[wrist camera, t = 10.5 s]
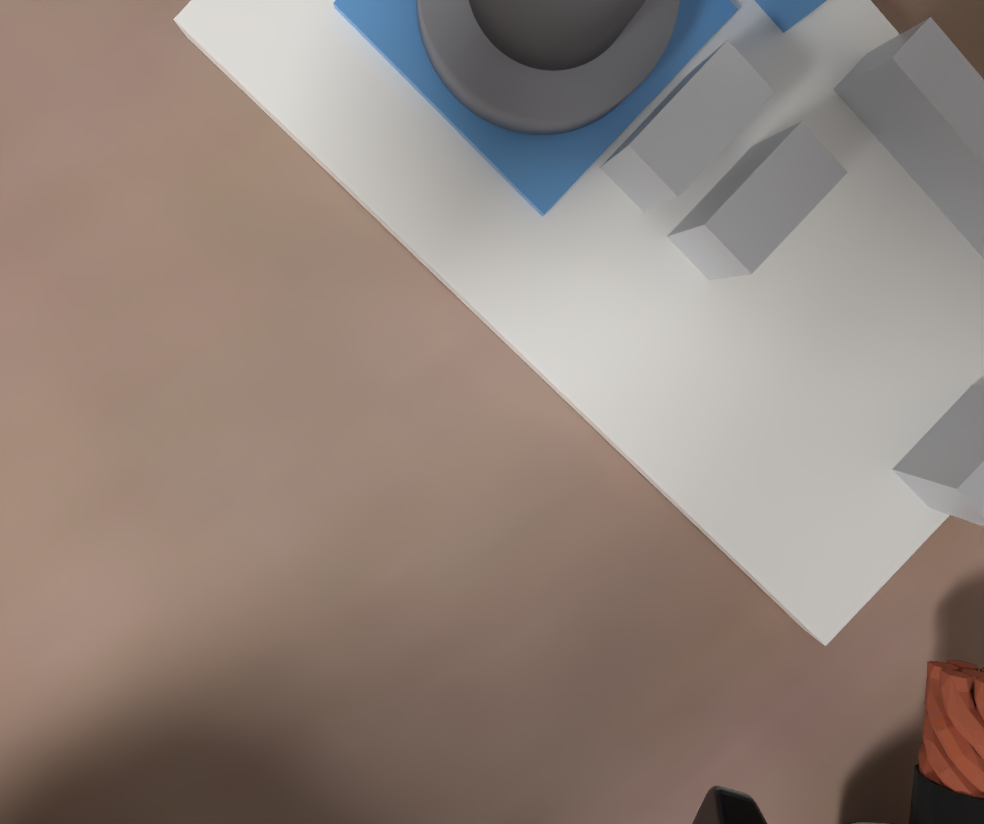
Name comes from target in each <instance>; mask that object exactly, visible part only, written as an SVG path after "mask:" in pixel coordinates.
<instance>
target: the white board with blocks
mask: <svg viewBox="0 0 984 824" xmlns="http://www.w3.org/2000/svg"><path fill="white" fill-rule="evenodd" d="M416 2H417V0H191V1H190V2H189V3H188V4H187V6H186V7H185V8H184V9H183V10H182V11H181V12H180V13H179V14H178V15H177V16H176V17H175V18H174V21H175V22H176V23H177V25H178V26H179V27H180V28H181V30H182V31H183V32H184V34H185V35H186V36H187V38H188V39H189V40H190V41H191V42H192V43H194V44H195V45H196V46H197V47H198V48H199V49H200V50H201V51H202V52H203V53H204V54H205V55H206V56H207V57H208V58H209V59H210V60H211V61H212V62H213V63H214V64H215V65H216V66H217V67H219V68H220V69H221V70H222V71H223V72H224V73H225V74H226V75H227V76H228V77H229V78H230V79H231V80H232V81H233V82H234V83H235V84H236V85H237V86H238V87H239V88H240V89H241V90H242V91H244V92H245V93H246V94H247V95H248V96H249V97H250V98H251V99H252V100H253V101H254V102H255V103H256V104H257V105H258V106H259V107H260V108H261V109H262V110H263V111H264V112H265V113H266V114H267V115H269V116H270V117H271V118H272V119H273V120H274V121H275V122H276V123H277V124H278V125H279V126H280V127H281V128H282V129H283V130H284V131H285V132H286V133H287V134H288V135H289V136H290V137H291V138H292V139H294V140H295V141H296V142H297V143H298V144H299V145H300V146H301V147H302V148H303V149H304V150H305V151H306V152H307V153H308V154H309V155H310V156H311V157H312V158H313V159H314V160H315V161H316V162H317V163H318V164H320V165H321V166H322V167H323V168H324V169H325V170H326V171H327V172H328V173H329V174H330V175H331V176H332V177H333V178H334V179H335V180H336V181H337V182H338V183H339V184H340V185H341V186H342V187H343V188H345V189H346V190H347V191H348V192H349V193H350V194H351V195H352V196H353V197H354V198H355V199H356V200H357V201H358V202H359V203H360V204H361V205H362V206H363V207H364V208H365V209H366V210H367V211H368V212H370V213H371V214H372V215H373V216H374V217H375V218H376V219H377V220H378V221H379V222H380V223H381V224H382V225H383V226H384V227H385V228H386V229H387V230H388V231H389V232H390V233H391V234H392V235H393V236H395V237H396V238H397V239H398V240H399V241H400V242H401V243H402V244H403V245H404V246H405V247H406V248H407V249H408V250H409V251H410V252H411V253H412V254H413V255H414V256H415V257H416V258H417V259H418V260H419V261H421V262H422V263H423V264H424V265H425V266H426V267H427V268H428V269H429V270H430V271H431V272H432V273H433V274H434V275H435V276H436V277H437V278H438V279H439V280H440V281H441V282H442V283H443V284H444V285H446V286H447V287H448V288H449V289H450V290H451V291H452V292H453V293H454V294H455V295H456V296H457V297H458V298H459V299H460V300H461V301H462V302H463V303H464V304H465V305H466V306H467V307H468V308H469V309H471V310H472V311H473V312H474V313H475V314H476V315H477V316H478V317H479V318H480V319H481V320H482V321H483V322H484V323H485V324H486V325H487V326H488V327H489V328H490V329H491V330H492V331H493V332H494V333H496V334H497V335H498V336H499V337H500V338H501V339H502V340H503V341H504V342H505V343H506V344H507V345H508V346H509V347H510V348H511V349H512V350H513V351H514V352H515V353H516V354H517V355H518V356H519V357H521V358H522V359H523V360H524V361H525V362H526V363H527V364H528V365H529V366H530V367H531V368H532V369H533V370H534V371H535V372H536V373H537V374H538V375H539V376H540V377H541V378H542V379H543V380H544V381H545V382H547V383H548V384H549V385H550V386H551V387H552V388H553V389H554V390H555V391H556V392H557V393H558V394H559V395H560V396H561V397H562V398H563V399H564V400H565V401H566V402H567V403H568V404H569V405H570V406H572V407H573V408H574V409H575V410H576V411H577V412H578V413H579V414H580V415H581V416H582V417H583V418H584V419H585V420H586V421H587V422H588V423H589V424H590V425H591V426H592V427H593V428H594V429H595V430H597V431H598V432H599V433H600V434H601V435H602V436H603V437H604V438H605V439H606V440H607V441H608V442H609V443H610V444H611V445H612V446H613V447H614V448H615V449H616V450H617V451H618V452H619V453H620V454H622V455H623V456H624V457H625V458H626V459H627V460H628V461H629V462H630V463H631V464H632V465H633V466H634V467H635V468H636V469H637V470H638V471H639V472H640V473H641V474H642V475H643V476H644V477H645V478H646V479H648V480H649V481H650V482H651V483H652V484H653V485H654V486H655V487H656V488H657V489H658V490H659V491H660V492H661V493H662V494H663V495H664V496H665V497H666V498H667V499H668V500H669V501H670V502H671V503H673V504H674V505H675V506H676V507H677V508H678V509H679V510H680V511H681V512H682V513H683V514H684V515H685V516H686V517H687V518H688V519H689V520H690V521H691V522H692V523H693V524H694V525H695V526H696V527H698V528H699V529H700V530H701V531H702V532H703V533H704V534H705V535H706V536H707V537H708V538H709V539H710V540H711V541H712V542H713V543H714V544H715V545H716V546H717V547H718V548H719V549H720V550H721V551H723V552H724V553H725V554H726V555H727V556H728V557H729V558H730V559H731V560H732V561H733V562H734V563H735V564H736V565H737V566H738V567H739V568H740V569H741V570H742V571H743V572H744V573H745V574H746V575H748V576H749V577H750V578H751V579H752V580H753V581H754V582H755V583H756V584H757V585H758V586H759V587H760V588H761V589H762V590H763V591H764V592H765V593H766V594H767V595H768V596H769V597H770V598H771V599H772V600H774V601H775V602H776V603H777V604H778V605H779V606H780V607H781V608H782V609H783V610H784V611H785V612H786V613H787V614H788V615H789V616H790V617H791V618H792V619H793V620H794V621H795V622H796V623H797V624H799V625H800V626H801V627H802V628H803V629H804V630H805V631H806V632H808V633H809V634H810V635H812V636H813V637H814V638H815V639H817V640H818V641H819V642H821V643H822V644H823V645H825V646H826V645H827V644H828V643H829V642H830V641H831V640H832V639H833V638H834V637H835V636H836V635H837V634H838V633H839V631H840V630H841V629H842V628H843V627H844V626H845V625H846V624H847V623H848V622H849V621H850V620H851V619H852V618H853V617H854V616H855V615H856V614H857V612H858V611H859V610H860V609H861V608H862V607H863V606H864V605H865V604H866V603H867V602H868V601H869V600H870V599H871V598H872V597H873V596H874V595H875V594H876V592H877V591H878V590H879V589H880V588H881V587H882V586H883V585H884V584H885V583H886V582H887V581H888V580H889V579H890V578H891V577H892V576H893V575H894V573H895V572H896V571H897V570H898V569H899V568H900V567H901V566H902V565H903V564H904V563H905V562H906V561H907V560H908V559H909V558H910V557H911V556H912V554H913V553H914V552H915V551H916V550H917V549H918V548H919V547H920V546H921V545H922V544H923V543H924V542H925V541H926V540H927V539H928V538H929V537H930V535H931V534H932V533H933V532H934V531H935V530H936V529H937V528H938V527H939V526H940V525H941V524H942V523H943V522H944V521H945V520H946V519H947V518H948V517H949V515H952V516H955V517H957V518H960V519H963V520H966V521H969V522H972V523H974V524H977V525H980V526H983V527H984V79H983V78H982V77H981V76H980V74H979V73H978V72H977V71H976V70H975V68H974V67H973V66H972V65H971V64H970V63H969V61H968V60H967V59H966V58H965V57H964V55H963V54H962V53H961V52H960V51H959V50H958V48H957V47H956V46H955V45H954V44H953V42H952V41H951V40H950V39H949V38H948V37H947V35H946V34H945V33H944V32H943V31H942V29H941V28H940V27H939V26H938V25H937V24H936V22H935V21H934V20H933V19H932V18H931V17H929V18H927V19H926V20H924V21H922V22H920V23H919V24H917V25H915V26H913V27H912V28H910V29H908V30H906V31H905V32H903V33H901V34H899V33H898V32H897V30H896V29H895V28H894V27H893V26H892V25H891V23H890V22H889V21H888V20H887V19H886V18H885V16H884V15H883V14H882V13H881V12H880V11H879V9H878V8H877V7H876V6H875V5H874V4H873V2H872V1H871V0H680V3H679V8H678V14H677V19H676V23H675V26H674V29H673V32H672V35H671V38H670V40H669V42H668V44H667V46H666V48H665V51H664V53H663V54H662V56H661V57H660V59H659V61H658V62H657V64H656V65H655V67H654V68H653V69H652V71H651V72H650V73H649V74H648V75H647V77H646V78H645V79H644V80H643V81H642V82H641V83H640V84H639V85H638V86H637V87H636V88H635V89H634V90H633V91H632V92H631V93H630V94H629V95H628V96H627V97H626V98H625V99H624V100H623V101H622V102H621V103H620V104H619V105H618V106H617V107H616V108H615V109H613V110H612V111H611V112H609V113H608V114H606V115H605V116H604V117H602V118H601V119H599V120H597V121H595V122H593V123H591V124H589V125H587V126H585V127H582V128H579V129H577V130H574V131H570V132H565V133H560V134H553V135H531V134H523V133H518V132H513V131H509V130H506V129H503V128H501V127H498V126H495V125H493V124H491V123H489V122H487V121H485V120H483V119H481V118H480V117H478V116H477V115H475V114H474V113H473V112H471V111H470V110H468V109H467V108H466V107H465V106H464V105H462V104H461V103H460V102H459V101H458V100H457V99H456V98H455V97H454V96H453V95H452V94H451V93H450V91H449V90H448V89H447V88H446V87H445V86H444V84H443V83H442V81H441V80H440V78H439V77H438V75H437V74H436V72H435V70H434V68H433V66H432V64H431V62H430V60H429V58H428V56H427V54H426V51H425V48H424V45H423V42H422V39H421V35H420V30H419V26H418V18H417V7H416Z"/></svg>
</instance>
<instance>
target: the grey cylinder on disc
mask: <svg viewBox="0 0 984 824" xmlns="http://www.w3.org/2000/svg"><path fill="white" fill-rule="evenodd" d="M679 3H680V0H417V2H416V7H417V18H418V26H419V30H420V35H421V39H422V42H423V45H424V48H425V51H426V54H427V56H428V58H429V60H430V62H431V64H432V66H433V68H434V70H435V72H436V74H437V75H438V77H439V78H440V80H441V81H442V83H443V84H444V86H445V87H446V88H447V89H448V90H449V91H450V93H451V94H452V95H453V96H454V97H455V98H456V99H457V100H458V101H459V102H460V103H461V104H462V105H464V106H465V107H466V108H467V109H468V110H470V111H471V112H473V113H474V114H475V115H477V116H478V117H480V118H481V119H483V120H485V121H487V122H489V123H491V124H493V125H495V126H498V127H501V128H503V129H506V130H509V131H513V132H518V133H523V134H531V135H553V134H560V133H565V132H570V131H574V130H577V129H579V128H582V127H585V126H587V125H589V124H591V123H593V122H595V121H597V120H599V119H601V118H602V117H604V116H605V115H606V114H608V113H609V112H611V111H612V110H613V109H615V108H616V107H617V106H618V105H619V104H620V103H621V102H622V101H623V100H624V99H625V98H626V97H627V96H628V95H629V94H630V93H631V92H632V91H633V90H634V89H635V88H636V87H637V86H638V85H639V84H640V83H641V82H642V81H643V80H644V79H645V78H646V77H647V75H648V74H649V73H650V72H651V71H652V69H653V68H654V67H655V65H656V64H657V62H658V61H659V59H660V57H661V56H662V54H663V53H664V51H665V48H666V46H667V44H668V42H669V40H670V38H671V35H672V32H673V29H674V26H675V23H676V19H677V14H678V8H679Z"/></svg>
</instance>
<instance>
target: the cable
mask: <svg viewBox="0 0 984 824" xmlns="http://www.w3.org/2000/svg"><path fill="white" fill-rule="evenodd" d="M925 707H926V708H925V715H924V724H923V732H922V736H923V743H922V745H921V748H920V750H919V764H917V765H915V770H914V780H913V790H912V800H911V809H910V819H909V824H984V667H983V668H981V669H980V671H978V667H977V666H976V665H973V664H970V663H967V662H963V661H957V660H948V662H947V663H944V662H940V661H930V662H927V682H926V693H925ZM853 824H888V823H865V822H859V823H853Z"/></svg>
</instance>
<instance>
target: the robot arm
mask: <svg viewBox="0 0 984 824" xmlns="http://www.w3.org/2000/svg"><path fill="white" fill-rule="evenodd" d="M692 824H767V822H766V820H765V818H764V817H763V815H762V813H761V811H760V809H759V808H758V806H757V804H756V802H755V801H754V800H753V798H751V797H750V796H749V795H748V794H745V793H743V792H739V791H736V790H732V789H728V788H725V787H721V786H713V787H712V788H711V789H710V790H709V791H708V793H707V794H706V796H705V798H704V801H703V803H702V805H701V807H700V809H699V811H698V813H697V815H696V817H695V819H694V821H693V823H692Z"/></svg>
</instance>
